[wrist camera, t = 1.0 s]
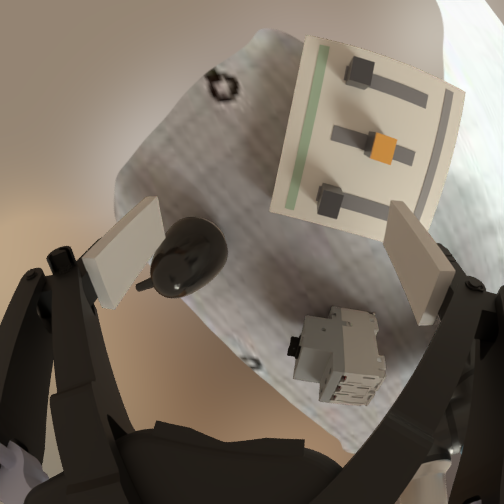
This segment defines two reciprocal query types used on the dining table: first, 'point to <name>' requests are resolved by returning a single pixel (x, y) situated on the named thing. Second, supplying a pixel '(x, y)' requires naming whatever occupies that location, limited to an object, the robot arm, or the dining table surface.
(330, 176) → the breaker panel
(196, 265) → the pump dispenser
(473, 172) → the dining table surface
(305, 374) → the circuit breaker
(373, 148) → the block
